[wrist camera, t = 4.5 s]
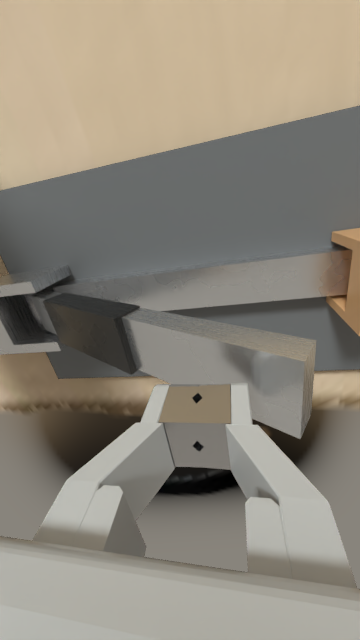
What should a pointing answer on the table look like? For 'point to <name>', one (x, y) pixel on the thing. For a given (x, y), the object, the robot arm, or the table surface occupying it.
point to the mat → (200, 223)
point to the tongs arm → (188, 351)
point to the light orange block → (356, 304)
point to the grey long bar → (175, 289)
